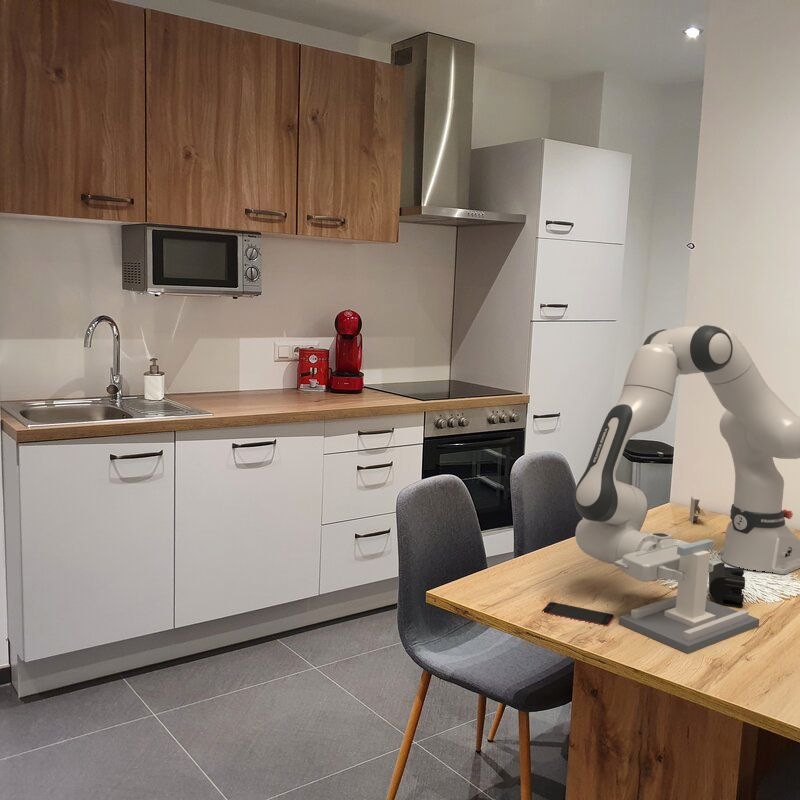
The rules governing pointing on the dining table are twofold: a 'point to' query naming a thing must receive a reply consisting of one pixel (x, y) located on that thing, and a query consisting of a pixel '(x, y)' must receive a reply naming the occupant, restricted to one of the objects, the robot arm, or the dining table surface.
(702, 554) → the stand
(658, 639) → the plate
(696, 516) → the architectural model
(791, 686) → the dining table surface
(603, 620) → the smartphone
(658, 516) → the dining table surface
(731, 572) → the black rounded block
